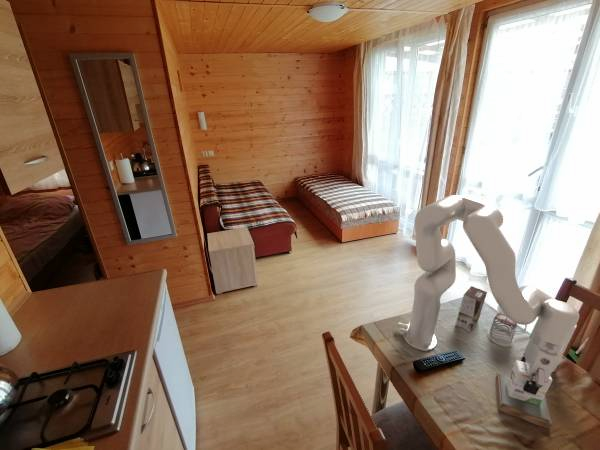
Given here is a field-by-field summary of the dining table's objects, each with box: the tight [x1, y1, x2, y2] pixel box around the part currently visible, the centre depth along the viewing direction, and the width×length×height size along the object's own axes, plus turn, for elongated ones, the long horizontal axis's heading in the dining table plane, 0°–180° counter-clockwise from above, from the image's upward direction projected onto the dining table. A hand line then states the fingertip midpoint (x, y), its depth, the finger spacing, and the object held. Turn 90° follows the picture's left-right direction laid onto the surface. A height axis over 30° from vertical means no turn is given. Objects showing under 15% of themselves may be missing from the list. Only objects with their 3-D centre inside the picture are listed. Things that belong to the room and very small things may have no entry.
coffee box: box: [455, 285, 488, 333], centre depth 126 cm, size 9×6×16 cm
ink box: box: [506, 359, 553, 405], centre depth 94 cm, size 8×5×12 cm, turn 68°
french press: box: [485, 305, 528, 347], centre depth 117 cm, size 10×12×25 cm
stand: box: [495, 372, 552, 430], centre depth 97 cm, size 13×13×3 cm
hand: (526, 379), depth 94 cm, fingers open, 9 cm apart
